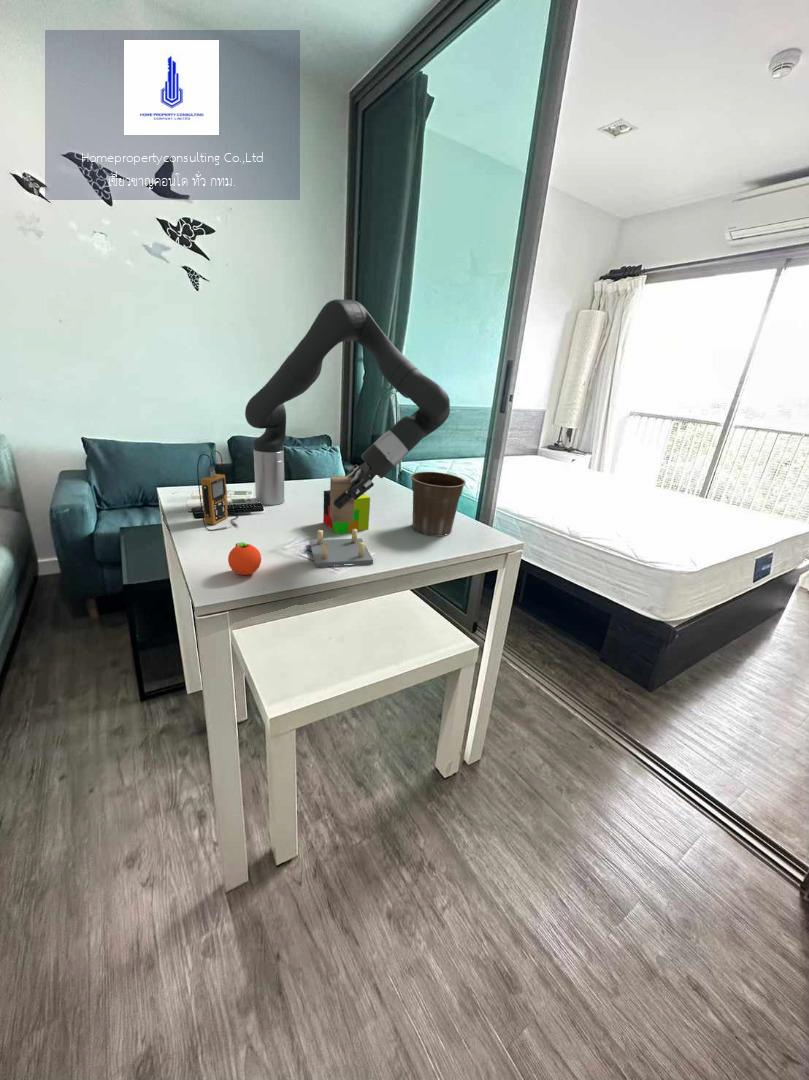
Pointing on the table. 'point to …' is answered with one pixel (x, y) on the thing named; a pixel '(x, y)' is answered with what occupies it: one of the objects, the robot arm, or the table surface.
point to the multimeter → (214, 497)
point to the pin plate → (339, 551)
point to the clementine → (244, 559)
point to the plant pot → (435, 501)
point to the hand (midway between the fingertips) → (334, 502)
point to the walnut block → (336, 489)
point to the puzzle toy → (359, 517)
